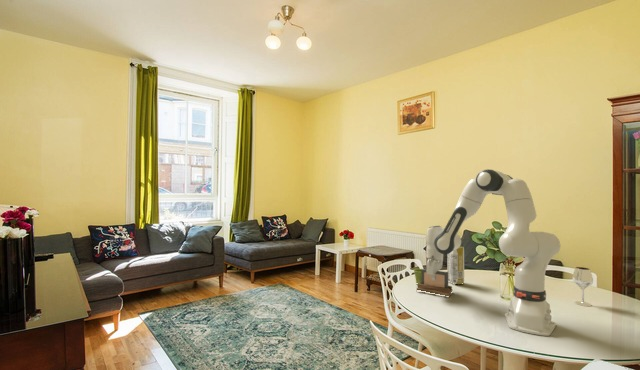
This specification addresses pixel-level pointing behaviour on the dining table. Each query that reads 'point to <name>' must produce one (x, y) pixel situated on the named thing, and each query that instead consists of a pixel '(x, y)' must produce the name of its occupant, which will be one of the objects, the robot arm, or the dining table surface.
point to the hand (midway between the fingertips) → (434, 279)
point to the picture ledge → (435, 289)
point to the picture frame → (440, 278)
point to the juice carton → (456, 266)
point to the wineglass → (582, 281)
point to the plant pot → (418, 275)
